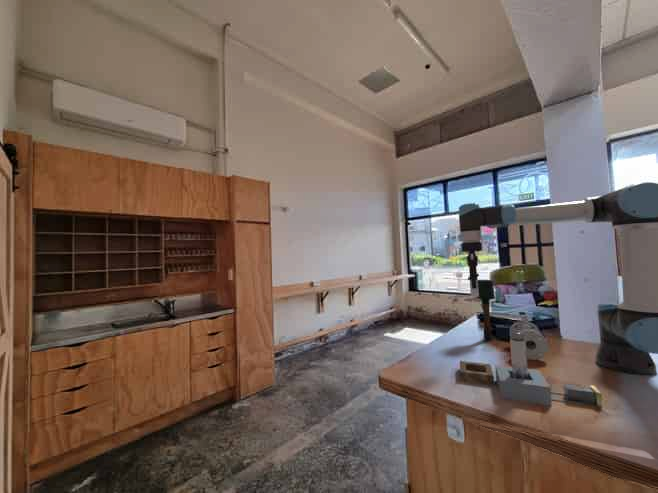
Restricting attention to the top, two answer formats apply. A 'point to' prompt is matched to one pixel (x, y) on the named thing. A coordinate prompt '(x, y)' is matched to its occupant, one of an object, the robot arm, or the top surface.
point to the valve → (531, 338)
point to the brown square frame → (476, 372)
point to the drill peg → (518, 356)
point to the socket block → (526, 387)
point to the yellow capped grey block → (583, 394)
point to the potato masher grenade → (486, 304)
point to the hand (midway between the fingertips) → (474, 294)
